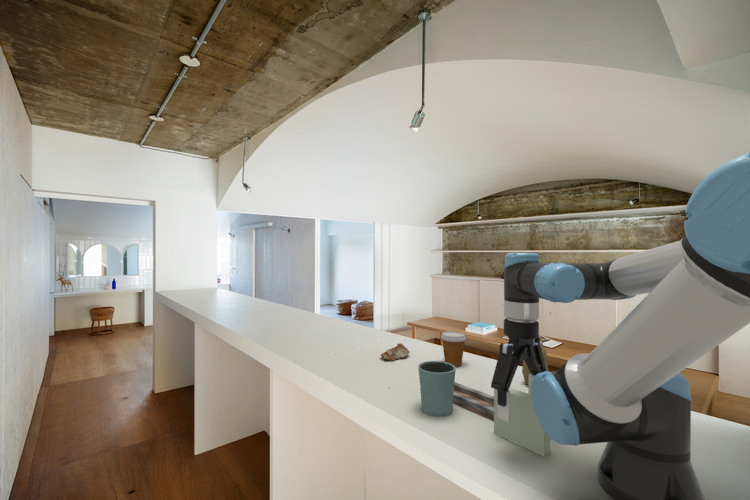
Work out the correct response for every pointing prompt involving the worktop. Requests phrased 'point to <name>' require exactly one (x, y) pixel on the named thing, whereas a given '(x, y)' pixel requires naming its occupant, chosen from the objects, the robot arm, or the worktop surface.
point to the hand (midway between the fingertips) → (520, 410)
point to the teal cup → (437, 387)
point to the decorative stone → (396, 353)
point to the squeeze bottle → (526, 370)
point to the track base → (474, 400)
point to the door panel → (522, 423)
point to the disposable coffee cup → (453, 347)
